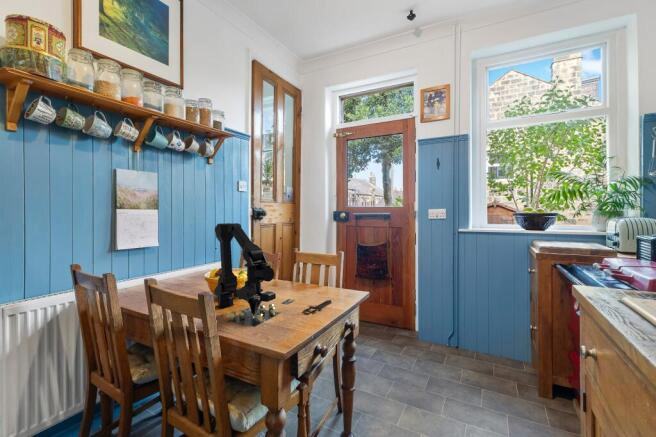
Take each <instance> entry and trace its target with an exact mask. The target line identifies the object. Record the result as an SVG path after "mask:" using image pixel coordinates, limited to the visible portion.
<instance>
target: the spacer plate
mask: <svg viewBox="0 0 656 437" xmlns="http://www.w3.org/2000/svg"><path fill="white" fill-rule="evenodd" d="M238 313H239V315H238V316H237V311H234V310H233V311H230V313H229V320H228V322H231V323H236V324H240V325H245V326H248V327H249V326H250V327H253V328H254V327H257V326H259V325H261V324H263V323H264V322H267V321H269V320H270V319H273V318H275V317H276V316H278V315H280V314H281V312H279V311H276V307H275V305H274V303H269V304H268V309H266V306H265V305H264V304H260V306H259V308H258V310H257V312H256V314H255V315H253V316H250V317H245V310H243V309H240V310H238Z"/></svg>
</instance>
